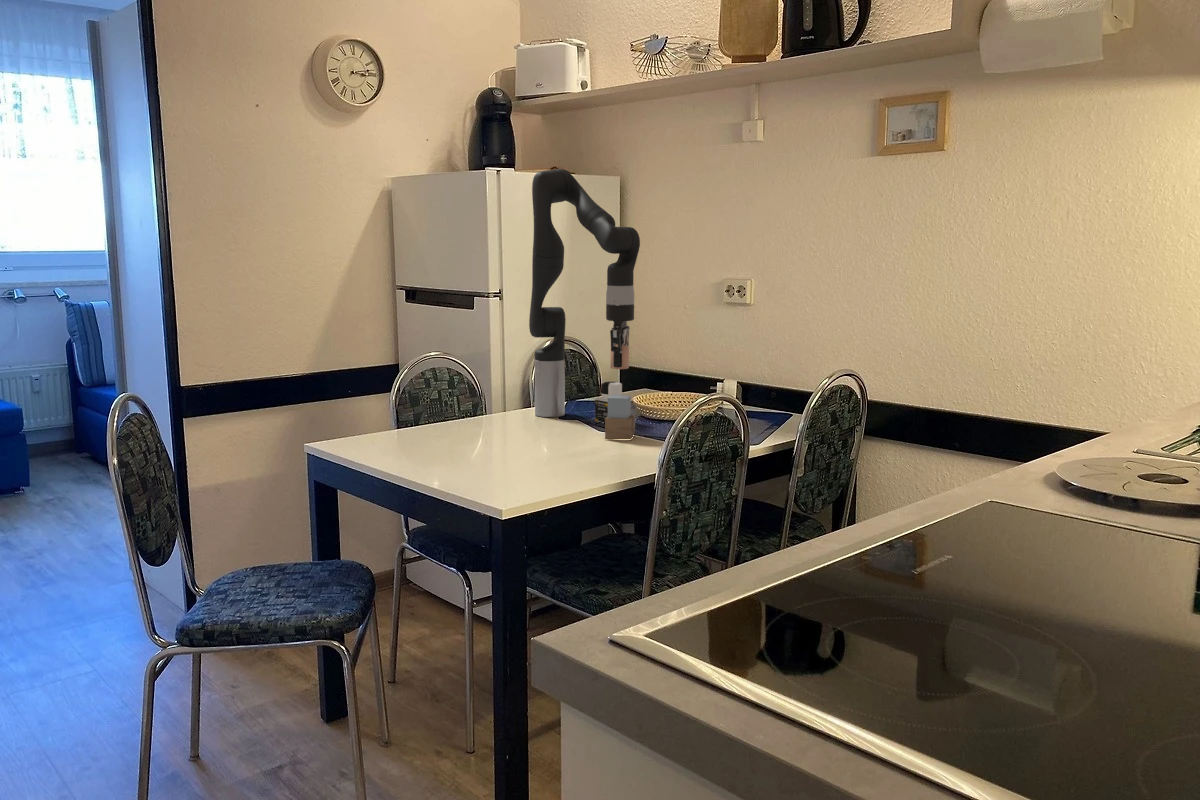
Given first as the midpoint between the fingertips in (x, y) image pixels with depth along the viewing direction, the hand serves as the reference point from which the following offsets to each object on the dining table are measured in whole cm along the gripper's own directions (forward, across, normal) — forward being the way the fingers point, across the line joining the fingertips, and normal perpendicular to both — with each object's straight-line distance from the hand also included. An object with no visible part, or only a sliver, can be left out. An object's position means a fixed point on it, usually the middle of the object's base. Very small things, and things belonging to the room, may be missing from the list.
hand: (619, 365), depth 255 cm
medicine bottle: (+20, -22, -7) cm, 31 cm away
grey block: (+14, 0, 0) cm, 14 cm away
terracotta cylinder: (+1, 0, 0) cm, 1 cm away
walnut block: (+20, 0, 0) cm, 20 cm away
